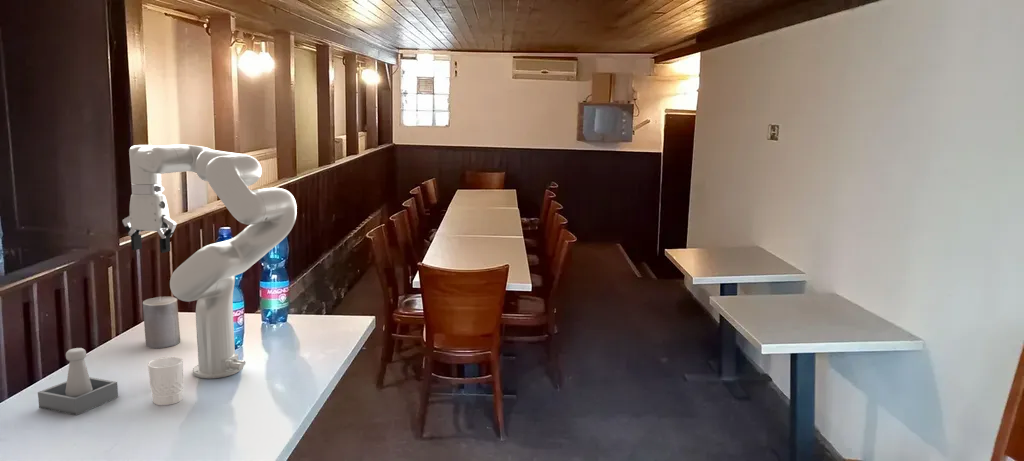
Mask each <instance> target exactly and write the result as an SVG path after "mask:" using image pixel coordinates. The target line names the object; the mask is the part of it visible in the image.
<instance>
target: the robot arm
mask: <svg viewBox="0 0 1024 461" xmlns="http://www.w3.org/2000/svg"><path fill="white" fill-rule="evenodd" d="M128 152H129V153H128V155H129V166H130V169H129V170H130V182H131V183H130V184H131V195H130V201H129V215H128V216H127V217H124V219H122V224H123V226H124V229H125V231H126V232H127V233H128V234H127V235H128V236H129V237H130V242H131V243H130V245H131V250H132V251H137V250H141V249H143V242H142V235H141V234H140V233H141V232H142V231H144V232H157V234H158V236H160V238H159V252H160V253H162V254H163V253H164V254H165V253H168V252H170V251H171V239H170V238H172V236H173V234H174V233H175V229H176V227H177V222H176V221H174V220H173V219H172V218H171V217H170V211H169V210H170V209H169V205H168V200H167V197H166V195H165V194H163V192H164V191H165V187H164V186H162V182H163V181H162V175H163V174H172V173H182V172H184V173H185V172H189V173H190V172H191V173H196V175H197V177H198V178H199V179H200V180H201V181H204V182H208V184H209V186H210V187H211V189H212V190H213V192H214V193H215V195H216V196H217V197H218V198H219V199H220V201H221V202H222V204H223V205H224V206H225V207H226V209H227V210H228V211H229V214H231V216H232V217H233V218H234V219H235V220H237V221H238V222H239V223H240V224H244V225H247V226H246V227H244V229H243V230H242V231H241V232H239V233H238V234H237V235H235V236H234V237H232V238H229V239H227V240H223V241H218V242H215V243H210V244H207V245H205V246H203V247H201V248H200V249H198V250H197V251H195V252H194V253H193V254H191V255H190V256H189V257H188V258H187V259H186V260H184V261H183V262H182V263H181V264H180V265H179V266H178V267H176V269H175V270H174V271H173V272H172V274H171V276H170V278H169V279H170V280H169V288H170V291H171V293H172V295H173V297H175V298H177V300H179V301H182V302H193V301H194V302H195V301H196V304H195V327H196V343H197V344H196V345H197V346H196V347H197V359H198V363H197V364H196V365H195V366H193V368H192V375H193V376H195V377H197V378H199V379H200V378H201V379H221V378H225V377H230V376H233V375H235V374H238V373H239V372H240V371H243V369H244V368H245V365H246V361H245V360H243V359H239V354H238V353H236V350H235V348H236V347H235V328H234V327H235V326H234V304H233V300H234V289H235V284H236V276H238V275H240V274H243V273H245V272H246V271H247V270H249V269H250V268H251V267H252V266H253V265H254V264H256V263H257V262H259V260H261V259H262V258H264V256H266V255H267V254H268V253H269V252H270V251H271V250H272V249H274V248H275V247H277V245H279V244H280V243H281V242H282V241H284V239H285V238H287V237H288V235H289V234H290V232H291V231H292V229H293V227H294V225H295V224H296V220H297V213H298V212H297V209H298V208H297V207H298V206H297V202H296V199H295V197H294V195H293V194H292V193H291V192H290V191H289V190H287V189H284V188H280V187H266V188H258V189H253V190H251V189H250V188H249V187H250V186H252V185H254V184H255V183H257V182H258V181H259V179H260V178H261V176H262V172H263V170H262V166H261V163H260V162H259V160H257V159H256V158H255V157H254V156H252V155H249V154H244V153H237V152H230V151H223V150H216V149H212V148H209V147H206V146H200V145H194V144H193V145H192V144H165V145H154V144H153V145H152V144H135V145H132V146H131V147H130V148H129V149H128Z"/></svg>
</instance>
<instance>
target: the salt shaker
mask: <svg viewBox="0 0 1024 461" xmlns="http://www.w3.org/2000/svg"><path fill="white" fill-rule="evenodd" d="M86 357H87V351H86V349H84V348H82V347H76V348H75V347H74V348H70V349H68V350H67V351H66V352H65V359H66V361H69V363H68V364H69V365H68V369H67V377H66V378H67V379H66V381H67V384H66V391H65V393H66V396H69V397H74V398H76V397H78V396H81V395H83V394H86V393H88V392H90V391H93V388H92V385H91V381H90V378H89V377H90V375H89V372H88V367H87V364H86V362H85V361H86V360H85V358H86Z"/></svg>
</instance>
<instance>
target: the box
mask: <svg viewBox="0 0 1024 461" xmlns="http://www.w3.org/2000/svg"><path fill="white" fill-rule="evenodd" d="M89 378H90V381H91V385H92V388H93V391H90V392H88V393H86V394H83V395H81V396H78V397H76V398H74V397H69V396H66V393H65V391H66V384H67V380H66V381H64V382H61V383H58V384H55V385H54V386H51V387H48V388H45V389H42V390H39V391H38V392H37V398H38V408H39V409H43V410H48V411H53V412H58V413H62V414H63V413H64V414H66V415H67V414H68V415H72V416H78V415H81V414H83V413H85V412H88V411H90V410H92V409H94V408H96V407H99V406H101V405H104V404H105V403H108V402H110V401H113V400H115V399H117V398H119V391H118V390H119V389H118V381H113V380H108V379H102V378H96V377H91V376H89Z"/></svg>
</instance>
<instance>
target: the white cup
mask: <svg viewBox="0 0 1024 461" xmlns="http://www.w3.org/2000/svg"><path fill="white" fill-rule="evenodd" d="M147 367H148V369H147V370H148V376H149V383H150V391H151V395H152V402H153V404H154V405H157V406H170V405H173V404H177V403H180V402H181V401H183V398H184V397H183V396H184V393H183V389H184V360H183V358H181V357H178V356H165V357H160V358H156V359H153V360H150V361H149V362H148V364H147Z"/></svg>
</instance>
